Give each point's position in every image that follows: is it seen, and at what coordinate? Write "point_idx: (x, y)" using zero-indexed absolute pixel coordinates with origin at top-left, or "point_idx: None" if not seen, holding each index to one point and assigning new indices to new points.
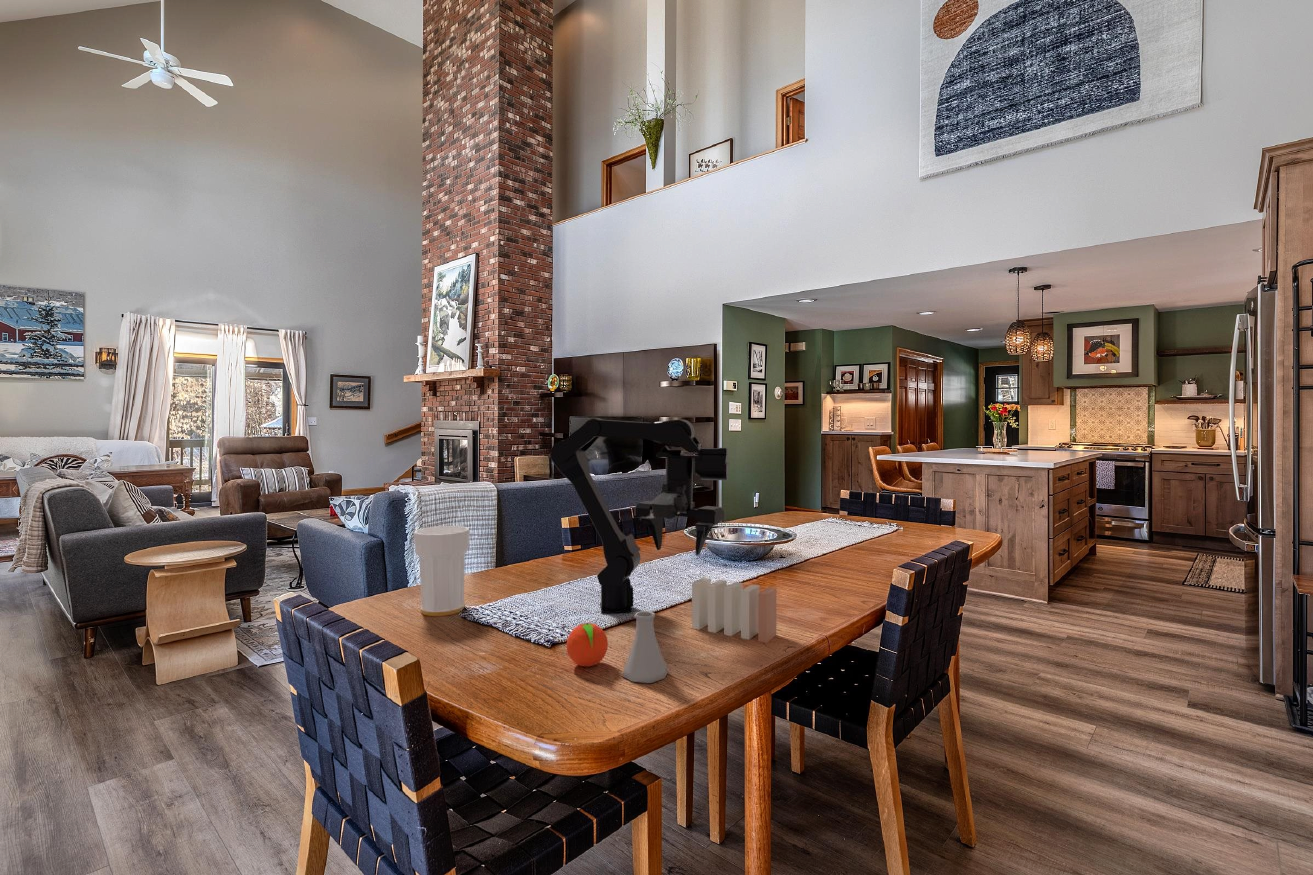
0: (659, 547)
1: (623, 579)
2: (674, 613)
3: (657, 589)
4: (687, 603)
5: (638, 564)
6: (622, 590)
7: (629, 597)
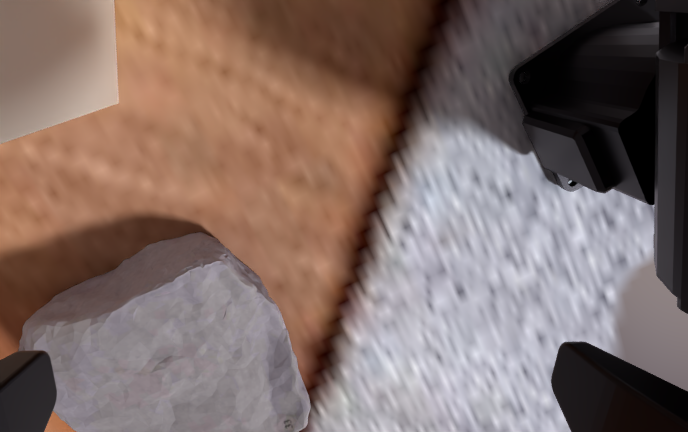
0: (571, 376)
1: (672, 8)
2: (309, 154)
3: (510, 413)
4: (318, 311)
5: (656, 257)
6: (623, 64)
7: (561, 108)
